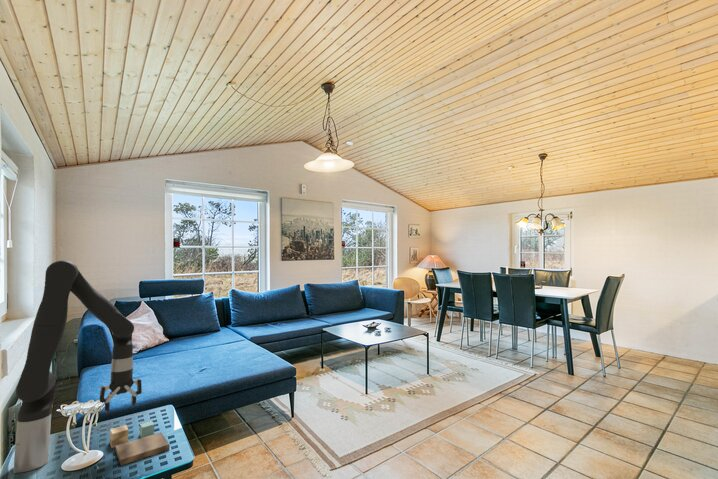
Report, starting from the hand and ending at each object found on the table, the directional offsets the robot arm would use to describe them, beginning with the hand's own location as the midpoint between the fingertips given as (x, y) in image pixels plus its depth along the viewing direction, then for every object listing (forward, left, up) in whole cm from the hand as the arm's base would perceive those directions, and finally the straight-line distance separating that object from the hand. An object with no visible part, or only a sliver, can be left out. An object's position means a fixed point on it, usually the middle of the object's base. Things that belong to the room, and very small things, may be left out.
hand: (120, 408), depth 142 cm
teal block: (+10, 0, -14) cm, 17 cm away
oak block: (0, 0, -14) cm, 14 cm away
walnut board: (+6, -13, -14) cm, 20 cm away
